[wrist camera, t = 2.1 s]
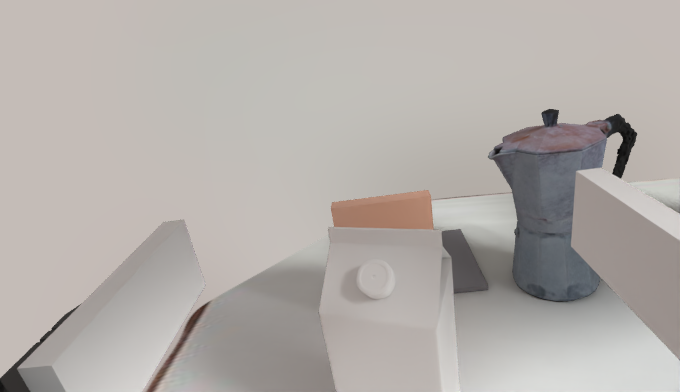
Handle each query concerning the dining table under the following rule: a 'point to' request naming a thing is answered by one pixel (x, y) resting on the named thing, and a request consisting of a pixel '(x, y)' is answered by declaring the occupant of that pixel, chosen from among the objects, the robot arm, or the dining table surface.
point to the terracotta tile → (385, 212)
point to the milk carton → (389, 311)
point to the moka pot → (554, 199)
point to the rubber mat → (462, 263)
